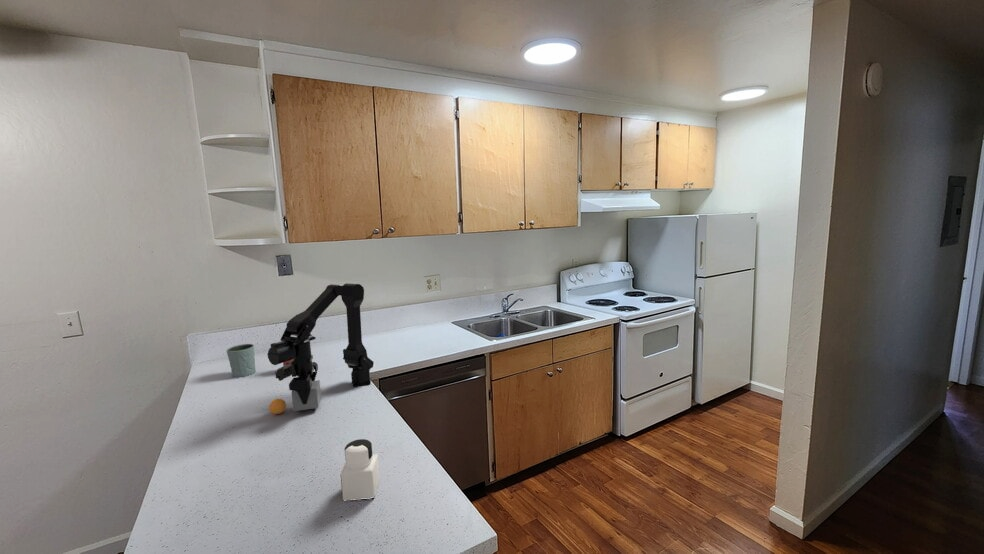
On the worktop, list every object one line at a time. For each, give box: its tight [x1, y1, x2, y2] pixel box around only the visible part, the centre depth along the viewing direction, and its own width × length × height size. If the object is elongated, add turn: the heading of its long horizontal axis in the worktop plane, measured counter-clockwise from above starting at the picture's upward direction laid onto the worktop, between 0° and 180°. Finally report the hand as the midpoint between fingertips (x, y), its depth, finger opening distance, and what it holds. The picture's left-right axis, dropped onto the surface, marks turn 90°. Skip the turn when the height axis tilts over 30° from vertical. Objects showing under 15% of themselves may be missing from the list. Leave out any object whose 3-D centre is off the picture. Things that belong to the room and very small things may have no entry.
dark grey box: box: [291, 379, 322, 412], centre depth 143 cm, size 8×8×7 cm
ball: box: [268, 398, 287, 415], centre depth 141 cm, size 5×5×5 cm
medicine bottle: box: [340, 438, 381, 501], centre depth 98 cm, size 7×7×12 cm
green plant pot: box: [226, 343, 257, 378], centre depth 179 cm, size 10×10×12 cm
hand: (306, 399), depth 144 cm, fingers closed on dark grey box, 8 cm apart
